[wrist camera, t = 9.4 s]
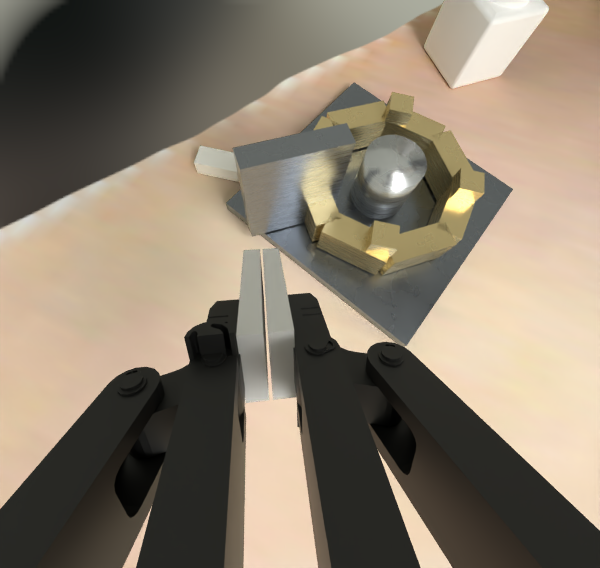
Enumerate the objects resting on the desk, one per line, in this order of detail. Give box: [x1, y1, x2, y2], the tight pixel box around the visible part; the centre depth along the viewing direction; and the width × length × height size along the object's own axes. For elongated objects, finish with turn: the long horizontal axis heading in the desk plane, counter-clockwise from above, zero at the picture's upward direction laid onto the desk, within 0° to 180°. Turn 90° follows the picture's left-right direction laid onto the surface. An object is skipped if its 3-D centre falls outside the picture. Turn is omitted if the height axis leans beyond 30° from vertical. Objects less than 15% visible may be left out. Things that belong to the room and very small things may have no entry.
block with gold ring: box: [233, 92, 485, 275], centre depth 24 cm, size 20×15×9 cm
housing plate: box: [226, 83, 513, 346], centre depth 27 cm, size 20×20×6 cm
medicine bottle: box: [424, 0, 549, 89], centre depth 31 cm, size 7×7×12 cm
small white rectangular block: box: [194, 145, 239, 182], centre depth 29 cm, size 4×2×2 cm, turn 79°
